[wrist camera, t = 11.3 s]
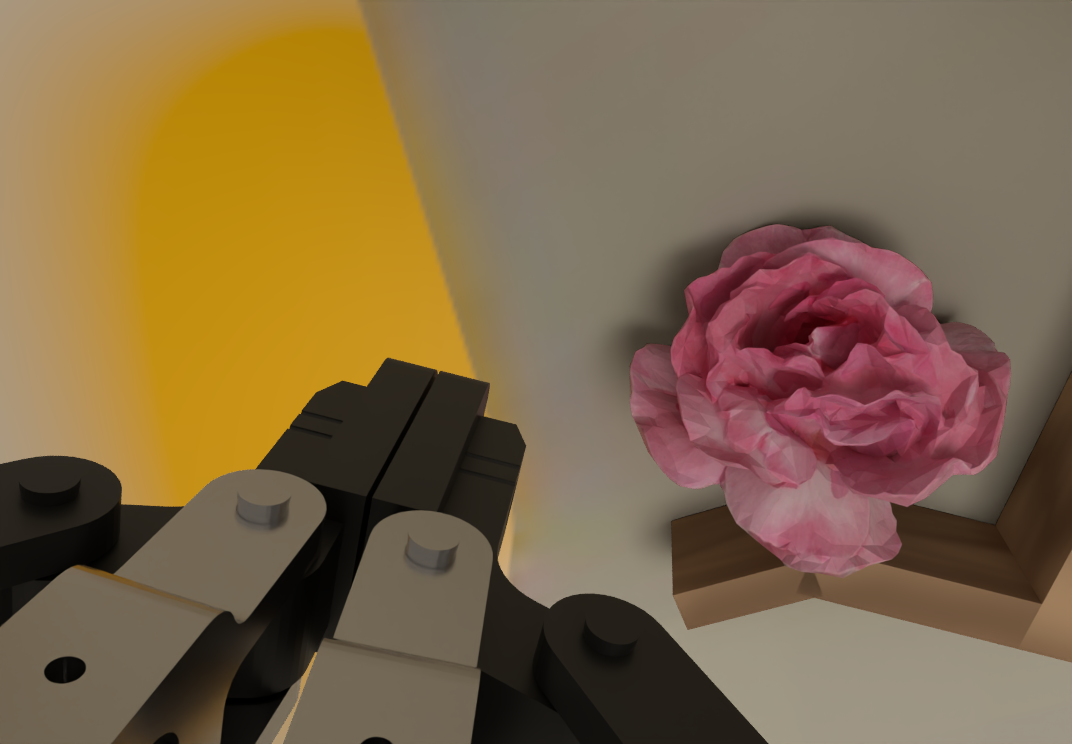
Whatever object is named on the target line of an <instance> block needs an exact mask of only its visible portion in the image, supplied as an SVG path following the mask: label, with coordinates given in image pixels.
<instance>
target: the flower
mask: <svg viewBox="0 0 1072 744" xmlns="http://www.w3.org/2000/svg"><path fill="white" fill-rule="evenodd" d="M684 293H685V298H686V303H687V309H688V314H689V317H688V318H687V320H686V322H685V323H684V325H683V327H682V328H681V329H680V331H679V332H678V333H677V335H676V336H675V337H674V339H673V343H672V346H669V345H662V344H651V343H647V344H646V345H645V347H644V348H641V349H639V350H637V351H636V352H635V354H634V357H633V359H632V362H631V364H630V406H631V411H632V416H633V418H634V420H635V422H636V425H637V427H638V429H639V432H640V434H641V436H642V439H643V441H644V443H645V446H646V448H647V450H648V453H649V454H650V455H651V457H652V458H653V459H654V461H655V462H656V463H657V465H658V466H659V467H660V468H661V470H662V471H663V472H664V473H665V474H666V475H667V476H668V477H669V478H670V479H671V480H672V481H674V482H675V483H676V484H678V485H679V486H682V487H687V488H693V489H701V488H704V487H707V486H710V485H713V484H720V486H721V488H722V489H723V491H724V493H725V499H726V504H727V506H728V508H729V510H730V512H731V514H732V516H733V518H734V520H735V522H736V523H737V524H738V525H739V526H740V527H741V528H742V529H744V530H745V531H746V532H747V533H748V534H749V535H750V536H752V537H753V538H754V539H755V540H756V541H757V542H759V543H760V544H761V545H762V546H763V547H765V548H766V549H767V550H769V551H770V552H771V553H773V554H774V555H776V556H777V557H778V558H779V559H780V560H781V561H782V562H783V563H784V565H785V566H786V567H789V568H792V569H795V570H798V571H802V572H806V573H819V574H824V575H829V576H835V577H840V578H844V577H846V576H848V575H851V574H853V573H855V572H857V571H859V570H861V569H863V568H865V567H866V566H870V565H874V564H877V563H881V562H884V561H888V560H891V559H893V558H894V557H895V556H896V555H897V554H898V553H899V550H900V548H901V546H902V543H901V541H900V538H899V536H898V534H897V532H896V525H897V520H896V519H895V517H894V515H893V514H892V508H891V504H890V502H892V503H895V504H899V505H902V506H906V507H908V506H910V505H912V504H914V503H916V502H919V501H921V500H923V499H925V498H926V497H928V496H929V495H930V494H931V493H932V492H933V491H935V490H936V489H937V488H938V487H939V486H940V485H942V484H943V483H944V482H945V481H946V480H947V479H949V478H950V477H951V476H952V475H959V474H970V475H975V474H977V473H979V472H980V471H982V470H983V469H984V468H985V467H986V466H987V465H988V464H989V463H990V462H991V461H992V460H993V459H994V458H995V457H996V456H997V451H998V446H999V441H1000V437H1001V432H1002V428H1003V424H1004V417H1005V410H1006V403H1007V395H1008V391H1009V387H1010V376H1011V367H1010V359H1009V357H1008V356H1007V355H1006V354H1005V353H1002V352H997V350H996V348H995V345H994V342H993V341H992V340H991V339H990V338H989V337H988V336H987V335H986V334H985V333H983V332H982V331H980V330H979V329H977V328H976V327H973V326H971V325H968V324H964V323H958V322H950V323H943V324H939V322H938V320H937V319H936V317H935V316H934V315H933V314H932V313H931V310H932V306H933V291H932V284H931V282H930V280H929V279H928V278H927V276H926V275H925V274H924V273H923V271H922V270H920V269H919V268H918V267H917V266H916V265H915V264H913V263H912V262H910V261H909V260H907V259H906V258H904V257H902V256H901V255H899V254H898V253H896V252H893V251H890V250H885V249H880V248H874V247H870V246H868V245H866V244H865V243H862V242H861V241H859V240H857V239H855V238H853V237H850V236H848V235H846V234H844V233H842V232H841V231H839V230H837V229H836V228H834V227H832V226H831V225H830V226H822V227H817V228H813V229H805V230H801V229H798V228H796V227H792V226H786V225H780V224H775V225H769V226H765V227H762V228H758V229H755V230H752V231H749V232H747V233H744V234H742V235H740V236H738V237H736V238H734V239H733V241H732V242H731V243H730V244H729V245H728V246H727V247H726V249H725V250H724V251H723V253H722V257H721V260H720V264H719V267H718V270H717V271H715V272H714V273H712V274H710V275H708V276H705V277H699V278H697V279H696V280H694V281H693V282H691V283H690V284H689V285H688V286H687V287H686V288H685V289H684Z"/></svg>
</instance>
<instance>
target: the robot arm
mask: <svg viewBox="0 0 1072 744" xmlns="http://www.w3.org/2000/svg"><path fill="white" fill-rule="evenodd" d="M489 387H490V383H487V382H483V381H479V380H475V379H471V378H467V377H463V376H459V375H455V374H451V373H447V372H443V371H440V372H439V374H438V373H437V370H435V369H431V368H427V367H423V366H419V365H415V364H411V363H407V362H403V361H399V360H395V359H391V358H387V359H386V360H385V361H384V362H383V364H382V365H381V367H380V368H379V370H378V371H377V373H376V374H375V375H374V377H373V378H372V380H371V381H370V383H369V384H368V386H367V387H365V386H361V385H357V384H353V383H350V382H346V381H341V382H339V383H336V384H334V385H332V386H330V387H327V388H325V389H323V390H321V391H318V392H316V393H315V395H314V396H313V397H312V398H311V400H310V401H309V402H308V403H307V405H306V406H305V407H304V408H303V410H302V413H301V414H299V415H298V416H297V417H296V419H295V420H294V421H293V422H292V424H291V425H290V429H287V430H286V431H285V432H284V434H283V435H282V436H281V438H280V439H279V440H278V441H277V443H276V444H275V445H274V446H273V448H272V449H271V450H270V451H269V453H268V454H267V455H266V456H265V458H264V459H263V460H262V461H261V463H260V464H259V465H258V467H257V468H256V469H255V470H243V471H237V472H233V473H228V474H226V475H223V476H220V477H218V478H217V479H215V480H213V481H211V482H210V483H209V484H207V485H206V486H205V487H204V488H203V489H202V490H201V491H200V492H199V493H198V494H197V495H196V496H195V497H194V498H193V499H192V500H191V501H190V502H189V503H187V504H186V505H185V506H182V507H163V506H161V507H160V506H143V505H122V504H121V493H122V487H121V483H120V481H119V479H118V478H117V476H116V475H115V474H114V473H113V472H112V471H111V470H109V469H107V468H106V467H104V466H103V465H100V464H98V463H96V462H93V461H89V460H86V459H81V458H76V457H68V456H43V457H34V458H28V459H22V460H18V461H13V462H8V463H3V464H0V744H272V742H273V740H274V739H275V737H276V735H277V734H278V732H279V730H280V728H281V727H282V725H283V724H284V722H285V720H286V719H287V717H288V715H289V714H290V712H291V711H292V709H293V707H294V706H295V703H296V701H297V699H298V695H299V690H300V683H301V677H302V676H303V674H304V673H305V671H306V669H307V667H308V665H309V663H310V661H311V659H312V657H313V655H314V653H315V652H317V655H316V657H315V660H314V663H313V665H312V668H311V671H310V673H309V676H308V679H307V681H306V684H305V687H304V689H303V692H302V695H301V697H300V700H299V703H298V705H297V708H296V711H295V713H294V716H293V719H292V721H291V724H290V727H289V730H288V732H287V735H286V737H285V740H284V743H283V744H768V743H767V742H766V740H765V739H764V738H763V737H762V736H761V735H760V734H759V733H758V732H757V730H756V729H755V728H754V727H753V726H752V725H751V724H750V723H749V722H748V721H747V719H746V718H745V717H744V716H743V715H742V714H741V713H740V712H739V711H738V710H737V708H736V707H735V706H734V705H733V704H732V703H731V702H730V701H729V700H728V699H727V697H726V696H725V695H724V694H723V693H722V692H721V691H720V690H719V689H718V688H717V686H716V685H715V684H714V683H713V682H712V681H711V680H710V679H709V678H708V677H707V675H706V674H705V673H704V672H703V671H702V670H701V669H700V668H699V667H698V666H697V664H696V663H695V662H694V661H693V660H692V659H691V658H690V657H689V656H688V654H687V653H686V652H685V651H684V650H683V649H682V648H681V647H680V646H679V645H678V643H677V642H676V641H675V640H674V639H673V638H672V637H671V636H670V635H669V634H668V632H667V631H666V630H665V629H664V628H663V627H662V626H661V625H660V624H659V623H658V622H657V621H656V620H655V619H654V618H653V617H652V616H650V615H649V614H648V613H646V612H645V611H644V610H642V609H640V608H638V607H637V606H635V605H633V604H631V603H629V602H626V601H624V600H621V599H618V598H615V597H611V596H607V595H600V594H578V595H572V596H569V597H566V598H563V599H561V600H560V601H558V602H556V603H555V604H554V605H553V606H551V608H550V609H549V608H547V607H545V606H543V605H541V604H539V603H538V602H536V601H534V600H532V599H531V598H529V597H527V596H526V595H524V594H523V593H522V592H520V591H519V590H518V589H517V588H516V587H514V586H513V585H512V584H511V583H510V582H509V580H508V579H507V578H506V577H505V575H504V574H503V572H502V570H501V568H500V566H499V563H498V555H499V551H500V548H501V544H502V541H503V537H504V533H505V529H506V525H507V521H508V517H509V513H510V509H511V505H512V501H513V497H514V493H515V489H516V485H517V481H518V476H519V472H520V468H521V464H522V460H523V456H524V452H525V448H526V445H525V442H524V440H523V438H522V436H521V434H520V431H519V429H518V427H517V425H516V424H512V423H508V422H504V421H500V420H496V419H492V418H488V417H484V412H485V408H486V403H487V399H488V394H489Z"/></svg>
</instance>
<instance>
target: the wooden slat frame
mask: <svg viewBox="0 0 1072 744" xmlns="http://www.w3.org/2000/svg"><path fill="white" fill-rule="evenodd" d="M890 504H891V508H892V514H893V515H894V517H895V519H896V520H897V525H896V532H897V534H898V536H899V538H900V541H901V543H902V546H901V548H900V550H899V553H898V554H897V555H896V556H895V557H894V558H893V559H891V560H888V561H884V562H881V563H877V564H874V565H870V566H866V567H865V568H863V569H861V570H859V571H857V572H855V573H853V574H851V575H848V576H846V577H844V578H840V577H835V576H829V575H824V574H819V573H806V572H802V571H798V570H795V569H792V568H789V567H786V566H785V565H784V563H783V562H782V561H781V560H780V559H779V558H778V557H777V556H776V555H774V554H773V553H771V552H770V551H769V550H767V549H766V548H765V547H763V546H762V545H761V544H760V543H759V542H757V541H756V540H755V539H754V538H753V537H752V536H750V535H749V534H748V533H747V532H746V531H745V530H744V529H742V528H741V527H740V526H739V525H738V524H737V523H736V522H735V520H734V518H733V516H732V514H731V512H730V510H729V508H728V506H727V505H726V506H722V507H719V508H715V509H712V510H708V511H705V512H701V513H698V514H694V515H691V516H687V517H684V518H681V519H677V520H674V521H671V529H672V576H673V597H674V599H675V601H676V604H677V606H678V609H679V611H680V613H681V616H682V618H683V620H684V623H685V625H686V627H687V630H689V629H693V628H697V627H701V626H705V625H709V624H713V623H717V622H720V621H724V620H728V619H732V618H736V617H740V616H744V615H748V614H752V613H756V612H760V611H764V610H768V609H772V608H775V607H779V606H783V605H787V604H791V603H795V602H799V601H803V600H807V599H811V598H818V599H822V600H826V601H830V602H834V603H838V604H842V605H845V606H849V607H853V608H857V609H861V610H865V611H869V612H873V613H877V614H881V615H885V616H889V617H893V618H897V619H901V620H905V621H909V622H913V623H917V624H921V625H925V626H929V627H933V628H937V629H941V630H945V631H949V632H953V633H957V634H961V635H965V636H969V637H973V638H977V639H981V640H985V641H989V642H993V643H997V644H1001V645H1005V646H1009V647H1013V648H1017V649H1021V650H1025V651H1028V652H1032V653H1036V654H1040V655H1044V656H1048V657H1052V658H1056V659H1060V660H1064V661H1068V662H1072V373H1071V375H1070V377H1069V379H1068V381H1067V383H1066V385H1065V387H1064V389H1063V391H1062V393H1061V395H1060V397H1059V399H1058V401H1057V403H1056V405H1055V407H1054V409H1053V411H1052V413H1051V415H1050V417H1049V419H1048V421H1047V423H1046V425H1045V427H1044V429H1043V431H1042V433H1041V435H1040V437H1039V439H1038V441H1037V443H1036V445H1035V447H1034V449H1033V451H1032V453H1031V455H1030V457H1029V459H1028V461H1027V463H1026V465H1025V467H1024V469H1023V471H1022V473H1021V475H1020V477H1019V479H1018V481H1017V483H1016V485H1015V487H1014V489H1013V491H1012V493H1011V495H1010V497H1009V499H1008V501H1007V503H1006V505H1005V507H1004V509H1003V511H1002V513H1001V515H1000V517H999V519H998V521H997V523H996V525H991V524H987V523H983V522H979V521H975V520H971V519H967V518H963V517H959V516H955V515H951V514H947V513H943V512H939V511H935V510H931V509H927V508H923V507H919V506H915V505H910V506H908V507H906V506H902V505H899V504H895V503H892V502H890Z"/></svg>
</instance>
